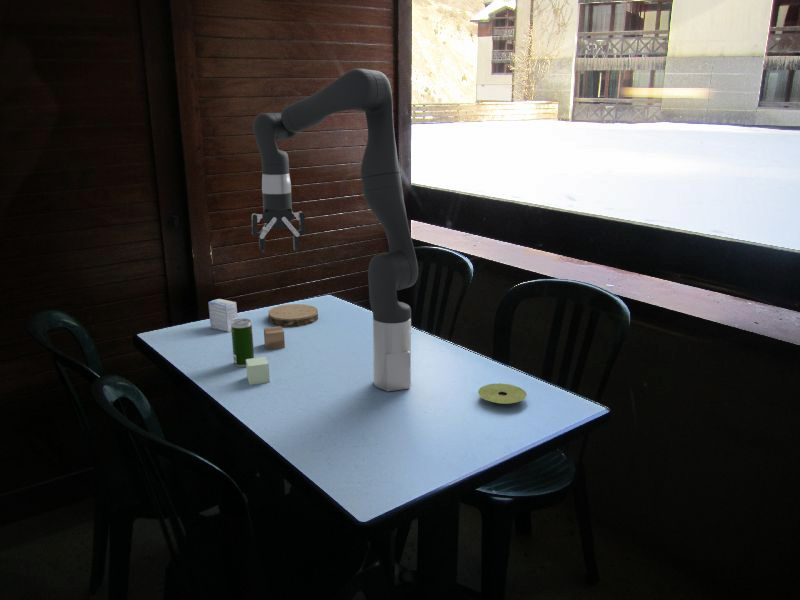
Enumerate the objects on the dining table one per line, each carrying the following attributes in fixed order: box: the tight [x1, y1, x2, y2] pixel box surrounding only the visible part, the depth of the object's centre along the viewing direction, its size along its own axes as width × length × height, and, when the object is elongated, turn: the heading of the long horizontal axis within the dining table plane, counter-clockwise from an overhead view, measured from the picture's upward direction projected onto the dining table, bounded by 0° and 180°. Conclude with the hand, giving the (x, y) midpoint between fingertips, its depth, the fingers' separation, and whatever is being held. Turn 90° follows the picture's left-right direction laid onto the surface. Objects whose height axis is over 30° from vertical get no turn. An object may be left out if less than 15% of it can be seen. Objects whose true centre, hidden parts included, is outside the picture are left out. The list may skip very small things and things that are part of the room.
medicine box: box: [208, 298, 239, 333], centre depth 204 cm, size 8×4×9 cm, turn 58°
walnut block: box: [263, 326, 286, 351], centre depth 189 cm, size 5×5×5 cm
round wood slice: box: [267, 303, 319, 328], centre depth 214 cm, size 16×16×3 cm
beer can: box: [230, 318, 255, 368], centre depth 175 cm, size 5×5×12 cm
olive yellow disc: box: [477, 382, 528, 405], centre depth 154 cm, size 11×11×2 cm
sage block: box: [245, 356, 271, 386], centre depth 166 cm, size 5×5×5 cm
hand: (279, 250), depth 179 cm, fingers open, 8 cm apart
